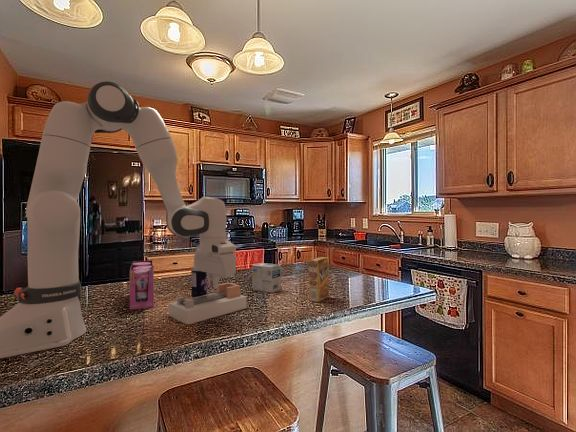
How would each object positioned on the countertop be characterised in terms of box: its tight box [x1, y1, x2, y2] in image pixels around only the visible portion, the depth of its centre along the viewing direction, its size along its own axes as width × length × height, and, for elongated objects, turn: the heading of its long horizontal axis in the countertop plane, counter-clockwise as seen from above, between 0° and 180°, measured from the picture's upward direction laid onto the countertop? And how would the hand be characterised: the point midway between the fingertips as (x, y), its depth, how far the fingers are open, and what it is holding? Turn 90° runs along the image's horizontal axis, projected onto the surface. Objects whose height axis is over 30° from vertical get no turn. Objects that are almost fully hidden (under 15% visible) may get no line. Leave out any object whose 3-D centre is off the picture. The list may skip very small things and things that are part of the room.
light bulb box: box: [251, 262, 282, 294], centre depth 137 cm, size 11×7×11 cm, turn 58°
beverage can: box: [190, 265, 208, 298], centre depth 126 cm, size 6×6×12 cm
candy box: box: [308, 256, 330, 303], centre depth 123 cm, size 9×4×15 cm, turn 147°
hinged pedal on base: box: [168, 282, 247, 325], centre depth 108 cm, size 22×12×8 cm, turn 136°
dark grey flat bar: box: [181, 291, 227, 305], centre depth 108 cm, size 16×4×1 cm, turn 136°
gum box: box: [129, 259, 155, 311], centre depth 122 cm, size 24×8×14 cm, turn 23°
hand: (213, 286), depth 110 cm, fingers closed
